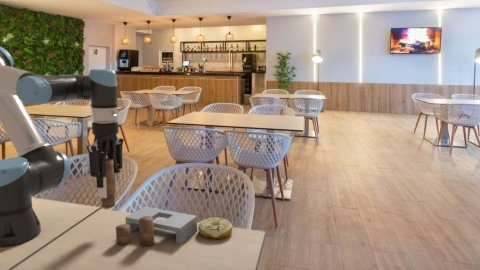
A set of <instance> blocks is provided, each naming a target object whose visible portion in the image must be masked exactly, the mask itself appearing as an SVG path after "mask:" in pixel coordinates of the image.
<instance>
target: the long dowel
mask: <svg viewBox="0 0 480 270" xmlns="http://www.w3.org/2000/svg"><path fill="white" fill-rule="evenodd" d="M104 177H106V186H107V198H102V197H100V198H101V207H102V208H104V209H110V208H114V207H115V206H116V195H115V194H116V193H115V188H114V160H113V159H112V158H108V157H106V162H105V171H104Z"/></svg>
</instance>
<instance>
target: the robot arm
mask: <svg viewBox="0 0 480 270" xmlns="http://www.w3.org/2000/svg"><path fill="white" fill-rule="evenodd" d="M14 64H15V63H14V59H13V57H12V55H11V53H10V52H9V51H8V50H6V49H5V48H4V47H2V46H0V124H1V126H2V127H3V129H4V131H5V133H6V134H7V136H8V138H9V139H10V142H11V144H12V145H13V147H14V149H15V151H16V152H17V156H13V157H8V158H2V159H0V247H10V246H15V245H19V244H23V243H26V242H28V241H30V240H34V239H35V238H36V237H38V236H39V235H40V233H41V232H42V227H41V226H42V225H41V222H40V220H39V218H38V216H37V214H36V212H35V210H34V207H33V201H32V197H34V196H35V195H39V194H41V193H43V192H46V191H49V190H51V189H55V188H58V186H61V185H63V184H65V183H66V181H68V179H69V177H70V173H71V163H70V159H69V158H68V157H67V155H66V154H65V153H64V152H61V151H59V150H58V151H57V150H55V149H54V146H53V145H52V144H51V143H48V142H45V141H44V139H43V137H42V135H41V134H40V132H39V130H38V128H37V127H36V125H35V123H34V121H33V119H32V117H31V116H30V114H29V112H28V110H27V109H26V107H25V104H26V105H31V106H32V105H36V106H39V105H44V104H52V103H57V102H58V103H59V102H69V101H79V100H80V101H81V100H82V101H90V108H91V109H90V110H91V111H90V113H91V121H92V122H91V133H92V135H93V136H94V139H93V143H91V144H90V145H89V144H88V145H86V151H87V152H88V160H89V173H90V175H89V176H90V177H92V178H93V177H94V178H96V180H95V181H96V188H97V193H98V194H97V197H99V198H101V197H102V198H107V186H106V177H104V171H105V162H106V158H112V159H113V160H114V188H115V194H117V193H118V181H119V178H118V177H119V176H118V174H119V173H121V170H122V169H123V143H124V139H123V138H120V137H118V136H117V135H118V134H119V122H118V121H117V120H119V116H118V115H119V113H118V81H117V72H116V71H115V70H114V69H105V68H104V69H103V68H102V69H100V68H99V69H98V68H95V69H90V70H89V75H85V74H84V75H83V74H73V73H66V74H58V75H42V74H40V73H39V74H38V73H34V72H31V71H27V70H23V69H19V68H16V67H15V66H14Z"/></svg>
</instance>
